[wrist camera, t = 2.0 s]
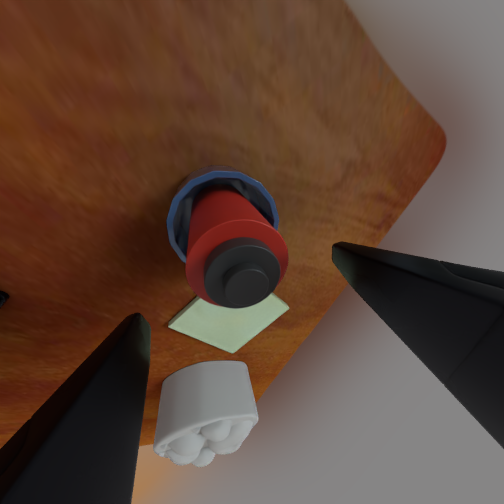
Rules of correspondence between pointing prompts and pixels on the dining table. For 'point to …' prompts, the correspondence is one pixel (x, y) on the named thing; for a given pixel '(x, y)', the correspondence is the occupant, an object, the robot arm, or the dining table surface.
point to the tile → (227, 321)
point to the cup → (203, 178)
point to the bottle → (232, 250)
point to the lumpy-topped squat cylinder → (204, 412)
